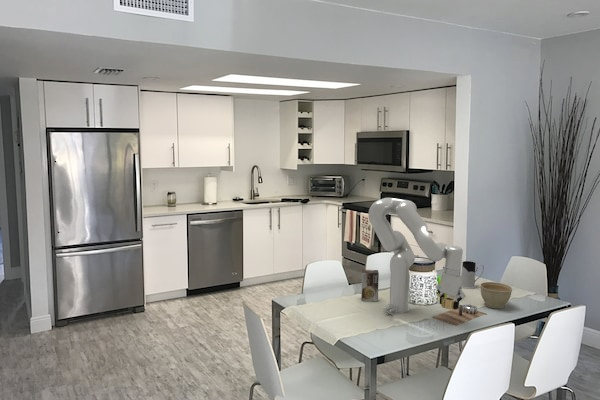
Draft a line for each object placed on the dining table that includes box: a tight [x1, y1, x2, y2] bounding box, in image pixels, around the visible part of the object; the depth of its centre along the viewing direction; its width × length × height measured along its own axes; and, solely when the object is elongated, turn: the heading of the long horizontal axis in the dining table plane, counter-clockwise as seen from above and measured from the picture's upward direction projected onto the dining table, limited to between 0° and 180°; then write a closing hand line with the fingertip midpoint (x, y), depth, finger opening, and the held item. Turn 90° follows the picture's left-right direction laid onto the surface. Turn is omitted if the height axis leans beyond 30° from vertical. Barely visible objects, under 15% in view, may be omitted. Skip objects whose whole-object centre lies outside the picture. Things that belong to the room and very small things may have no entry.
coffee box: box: [360, 269, 380, 302], centre depth 280 cm, size 9×6×16 cm
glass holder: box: [460, 260, 485, 290], centre depth 307 cm, size 9×14×15 cm, turn 100°
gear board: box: [431, 304, 487, 327], centre depth 255 cm, size 27×14×6 cm, turn 130°
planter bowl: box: [479, 281, 513, 309], centre depth 274 cm, size 16×16×11 cm
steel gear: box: [462, 303, 478, 314], centre depth 260 cm, size 7×7×3 cm
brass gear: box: [440, 297, 455, 311], centre depth 249 cm, size 7×7×4 cm
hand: (448, 306), depth 249 cm, fingers closed on brass gear, 7 cm apart
